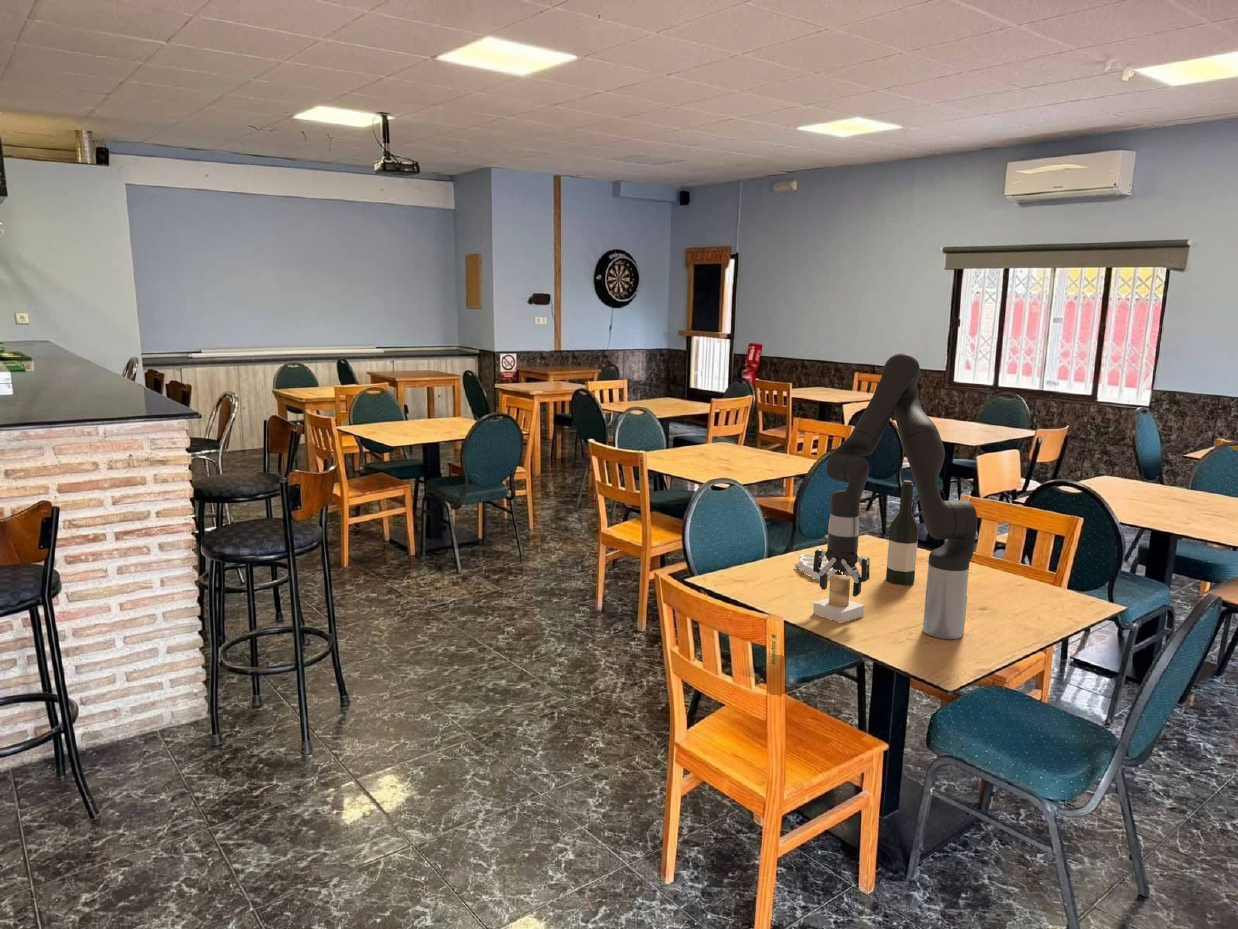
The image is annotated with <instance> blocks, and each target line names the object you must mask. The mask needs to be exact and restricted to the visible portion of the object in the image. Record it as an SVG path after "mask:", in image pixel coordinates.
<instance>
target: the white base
mask: <svg viewBox="0 0 1238 929" xmlns="http://www.w3.org/2000/svg"><path fill="white" fill-rule="evenodd" d="M864 611H865V605H864V604H861V603H858V602H855V601H852V600H850V599H849V605H848V606H847V607H835V606H832V605H830V604H829V597H827V598H824V599H821V600H818V601H815V602H813V611H812V614H813V613H815V614H814V615H816V614H817V615H816V616H818V615H819V616H818V617H821V616H823V617H822V618H824V617H825V618H824V619H826V620H829V619H832V620H834V621H833V622H835V621H837V622H836V623H838V624H840V623H843V624H845V623H844V622H846V623H848V622H850V621H849V620H851V621H853V620H852V619H854V620H857V619H860V618H862V616H863V617H864ZM859 617H860V618H859ZM856 618H857V619H856ZM832 620H831V621H832ZM847 621H848V622H847Z"/></svg>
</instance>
